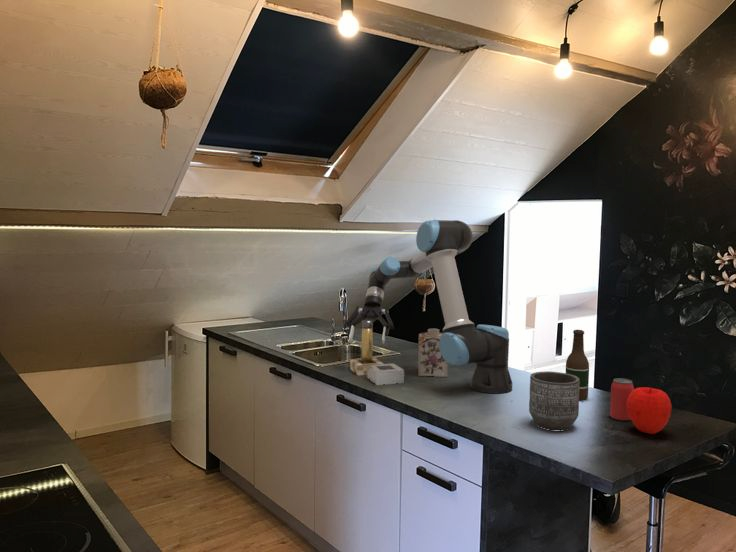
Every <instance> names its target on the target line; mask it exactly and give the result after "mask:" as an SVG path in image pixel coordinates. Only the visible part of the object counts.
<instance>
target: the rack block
mask: <svg viewBox="0 0 736 552" xmlns="http://www.w3.org/2000/svg"><path fill="white" fill-rule="evenodd" d="M379 364H385V363H384V362H382V361H380V360H379V359H378V358H376V357H372V363H368V364H362V358H353V359H349V369H350V371H352V372H353V373H354V372H355V373H356V374H355V373H354V374H355V375H357V376H367V365H379Z"/></svg>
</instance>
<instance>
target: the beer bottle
mask: <svg viewBox="0 0 736 552" xmlns="http://www.w3.org/2000/svg"><path fill="white" fill-rule="evenodd" d="M572 334H573V337H572V338H573V339H572V348H571V352H570V353H569V355H568V356H567V358H566V361H565V373H566V374H571V375H575V376H577V377H578V378H579V379H580V383H579V402H584V401H588V398H589V383H590V382H589V378H590V363H589V359H588V357H587V356H586V353H585V350H584V349H585V346H584V345H585V344H584V335H585V330H582V329H573V331H572Z"/></svg>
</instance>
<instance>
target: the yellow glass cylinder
mask: <svg viewBox="0 0 736 552" xmlns="http://www.w3.org/2000/svg"><path fill="white" fill-rule="evenodd" d="M373 325H374V319H364V320H362V321H361V359H362V364H368V363H372V358H373V344H374V343H373V338H374V337H373V335H374V334H373V330H374V326H373Z"/></svg>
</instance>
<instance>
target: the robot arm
mask: <svg viewBox="0 0 736 552" xmlns="http://www.w3.org/2000/svg"><path fill="white" fill-rule="evenodd" d="M473 236H474V235H473V232H472V228H471V227H470V226H469V225H468V224H467V223H465V222H464V221H461V220H458V219H457V220H454V219H453V220H446V219H445V220H443V219H442V220H441V219H438V220H437V219H433V220H425V221H423V222H422V223H421V224H420V226H419V227H418V230H417V232H416V237H415V240H416V242H415V243H416V246H417V248H418V250H419V251H420V253H419V254H417V255H416V256H414V257H412V258H411V259H409V260H398V258H396V257H393V256H387V257H386V258H384V260H382V262H381V263H380V265H379V266H378V267H375V268H373V269H372V270H371V272H370V274H369V278H368V284H367V290H366V294H365V300H364V305H363V308H361V307H359V306H358V305H357V306H356V307H355V310H354V312H353V313H352V314H351V315H350V316H349V317H348V318H347V320H346V321H345V326H346V327H347V328H348V331H347V332H348V334H349V336H348V337H349V338H348V339H349V342H350V343H352V342H353V337H354V333H355V327H356V326H357V325H358V324H360V323H362V320H374V319H377V320H378V321H379V322H380V323H381V325H382V326H383V331H382V337H381V342H382V344H383V345H385V343H386V342H385V341H386V337H388V336H389V333H390V330H394V329H395V328H394V323H393V320H392V318H391V317H390V312H389V309H388V307H385V308H383V301H384V296H385V289H386V286H387V285H388V283H389V282H390V281H391V280H392V279H393V280H394V279H418V278H422V277H424V276H425V274H426V273H427V271H428V270H429V269H431V268H432V269H433V274H434V279H435V284H436V289H437V293H438V297H439V298H438V299H439V302H440V306H441V311H442V316H443V319H444V320H443V321H444V326H443V328H442V333H443V335H442V336H441V337H440V339H439V341H440V342H439V350H440V353H441V355H442V357H443V358H444V360H445V361H447V362H448V364H449V365H452V366H465V365H468V364H469V365H470V364H475V368H474V371H473V374H472V376H471V378H470V389H472V390H473V391H477V392H481V393H484V394H485V393H488V394H504V393H505V394H506V393H510V392H512V390H513V380H512V378H511V374H510V370H509V353H510V352H509V350H510V349H509V348H510V335H509V334H510V333H509V330H508V328H505V327H502V326H497V325H491V324H490V325H489V324H477V325H476V326H475V323H474V322H473V321H472V320H470V319H469V314H468V311H467V310H468V309H467V305H466V302H465V297H464V294H463V293H464V292H463V290H462V284H461V280H460V276H459V272H458V271H459V270H458V268H457V262H456V259H455V257H456V255H460V254H461V253H463V252H464V251H466V250H467V249H469V247H470V246H471V245H472V242H473ZM382 313H383V314H384V315H385V317H386V320H387V321H386V320H385V319H384V318H383V316H382V315H381V314H382Z"/></svg>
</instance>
